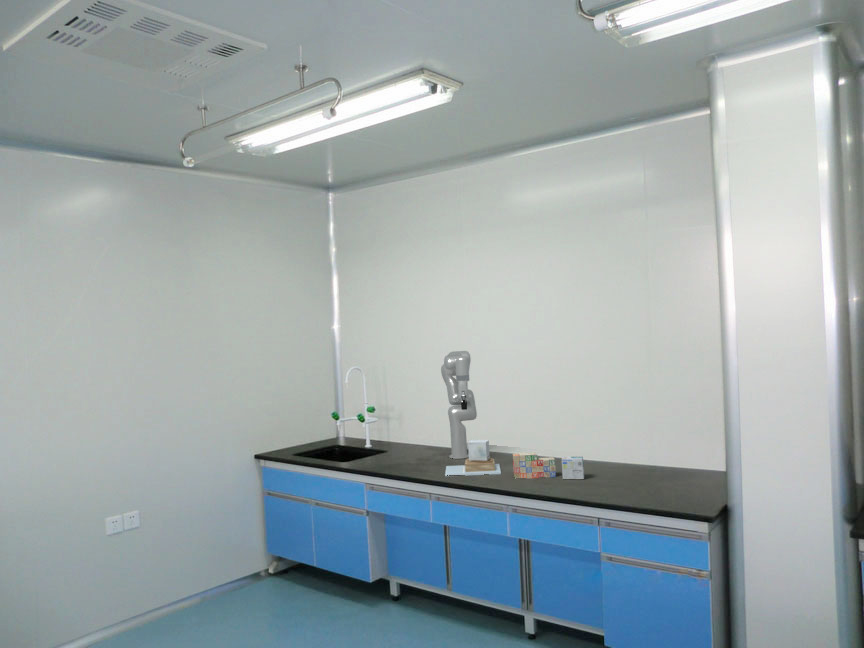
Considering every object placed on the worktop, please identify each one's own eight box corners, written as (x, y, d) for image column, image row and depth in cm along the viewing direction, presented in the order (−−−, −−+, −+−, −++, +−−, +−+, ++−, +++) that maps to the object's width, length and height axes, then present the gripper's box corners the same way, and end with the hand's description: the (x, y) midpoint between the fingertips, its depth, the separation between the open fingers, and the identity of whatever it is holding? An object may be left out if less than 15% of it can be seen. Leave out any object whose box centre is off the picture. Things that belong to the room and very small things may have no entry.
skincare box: (468, 460, 377) (467, 441, 377) (471, 458, 383) (470, 439, 383) (487, 460, 373) (486, 441, 373) (490, 458, 379) (489, 439, 379)
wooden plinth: (465, 466, 385) (465, 457, 385) (494, 465, 384) (493, 456, 384) (465, 472, 371) (464, 462, 371) (495, 470, 370) (494, 461, 370)
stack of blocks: (554, 474, 358) (553, 451, 358) (556, 477, 352) (554, 453, 352) (513, 476, 359) (512, 453, 359) (514, 479, 353) (513, 455, 353)
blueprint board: (446, 467, 390) (446, 465, 390) (499, 465, 388) (499, 463, 388) (445, 476, 368) (445, 474, 368) (500, 474, 366) (500, 471, 366)
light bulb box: (584, 476, 349) (583, 455, 349) (584, 479, 343) (582, 458, 343) (563, 476, 352) (562, 456, 352) (562, 479, 345) (561, 458, 345)
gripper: (456, 377, 398) (458, 407, 398) (455, 380, 381) (457, 410, 381) (469, 377, 398) (470, 406, 398) (469, 379, 381) (471, 410, 381)
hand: (464, 408), depth 389 cm, fingers open, 9 cm apart
